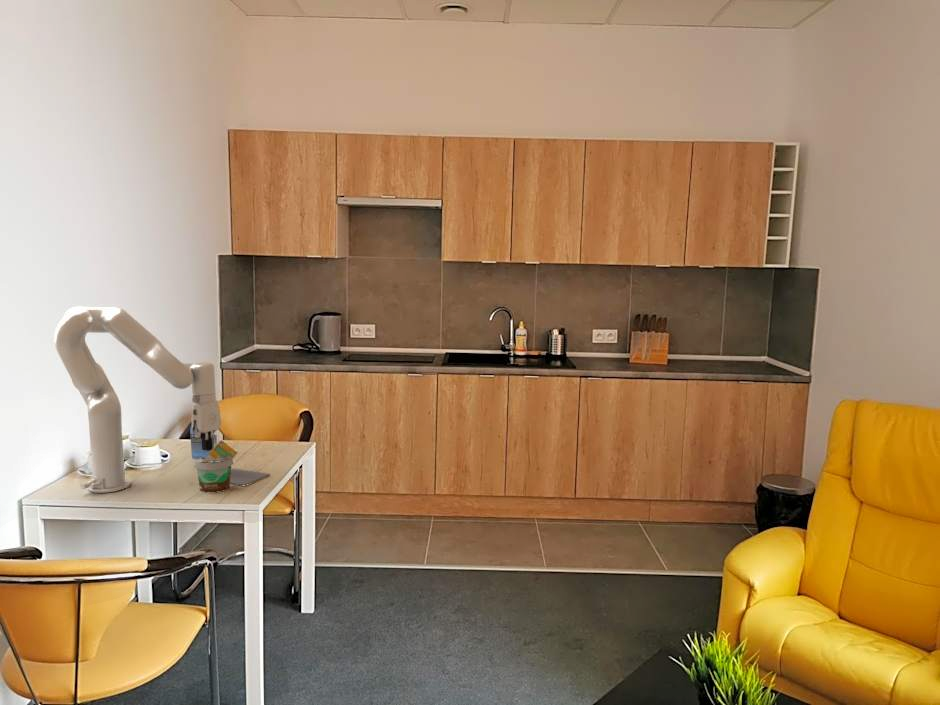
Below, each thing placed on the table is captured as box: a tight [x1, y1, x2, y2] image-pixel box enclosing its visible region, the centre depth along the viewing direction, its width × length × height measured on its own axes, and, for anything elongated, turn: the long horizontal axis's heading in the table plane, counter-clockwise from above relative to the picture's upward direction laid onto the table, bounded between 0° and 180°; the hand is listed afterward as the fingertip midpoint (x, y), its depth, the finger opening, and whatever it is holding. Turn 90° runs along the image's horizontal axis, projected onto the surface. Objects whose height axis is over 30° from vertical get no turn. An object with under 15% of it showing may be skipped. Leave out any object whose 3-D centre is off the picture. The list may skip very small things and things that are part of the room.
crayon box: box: [201, 440, 238, 462], centre depth 261 cm, size 7×3×12 cm
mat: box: [230, 468, 271, 487], centre depth 258 cm, size 13×16×1 cm
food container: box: [193, 457, 234, 493], centre depth 244 cm, size 12×6×10 cm, turn 106°
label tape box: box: [189, 426, 218, 459], centre depth 282 cm, size 9×4×12 cm, turn 89°
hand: (207, 449), depth 261 cm, fingers closed
